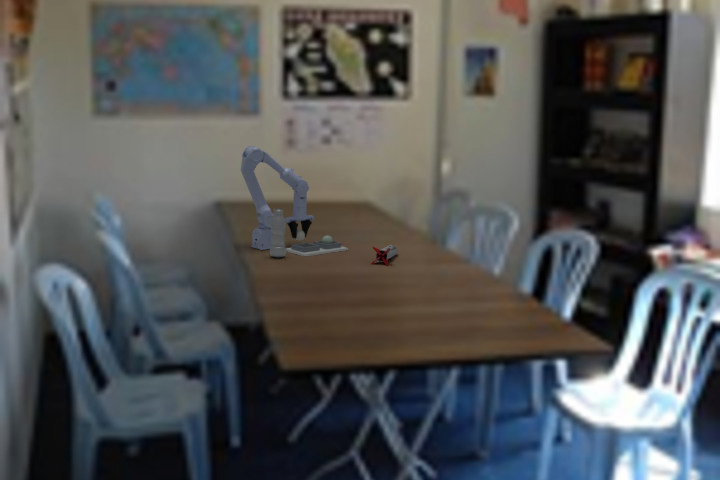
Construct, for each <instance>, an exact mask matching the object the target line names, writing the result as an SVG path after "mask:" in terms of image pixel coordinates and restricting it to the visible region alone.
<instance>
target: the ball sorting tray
mask: <svg viewBox="0 0 720 480" xmlns="http://www.w3.org/2000/svg"><path fill="white" fill-rule="evenodd" d="M346 250H347V251H349V248H348V247H346V246H342V242H340V241H334V240H333V244H323V243H322V240H317V241H313V242H312V243H310V242H301V243H293V244H291V247H286V253H289V254H290V253H291V254H295V255H298V256H301V257H304V258H305V257H311V256H317V255H324V254H331V253H332V252H333V253H339V251H340V252H346Z"/></svg>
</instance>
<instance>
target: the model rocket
mask: <svg viewBox="0 0 720 480" xmlns="http://www.w3.org/2000/svg"><path fill="white" fill-rule="evenodd" d="M372 249H373V250H374V251H375V259H374V260H373V261H372V262H371V263H370V265H373V264H374V263H376V262H381V263H382V262H383V263H384V264H385V266H387V267H389V261H388V260H389V259H391V258H393V257H395V256H396V255H397V254H398V248H397V246H396V245H394V244H389V245H388V246H385V247H384V248H381V249H380V248H378V247H375V246H372Z"/></svg>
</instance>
